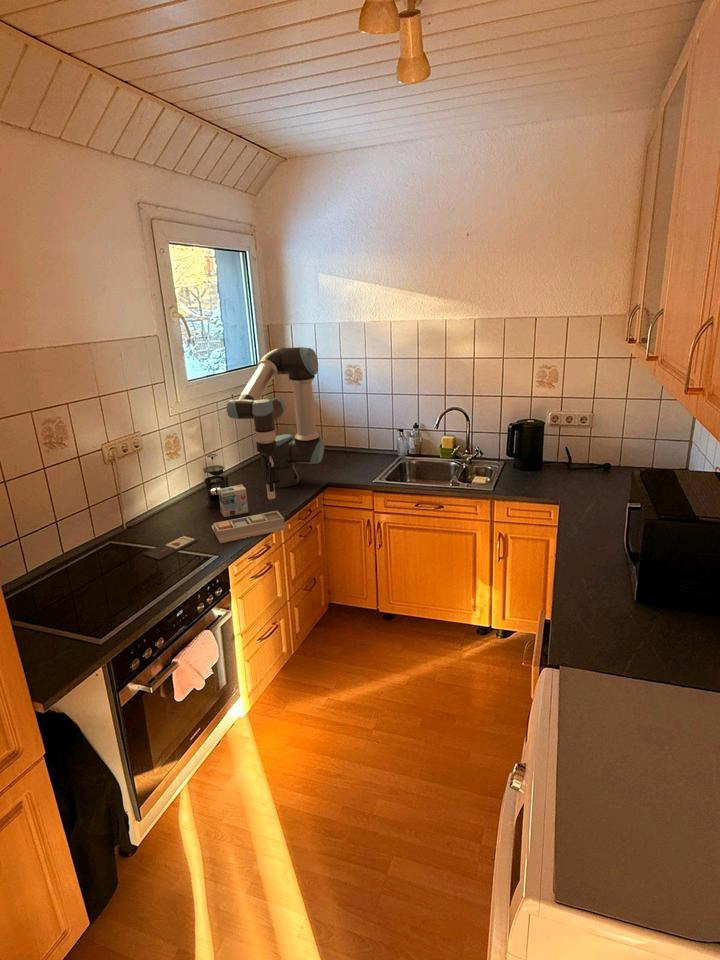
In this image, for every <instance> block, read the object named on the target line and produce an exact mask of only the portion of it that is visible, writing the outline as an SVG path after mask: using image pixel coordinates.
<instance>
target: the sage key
mask: <svg viewBox="0 0 720 960" xmlns="http://www.w3.org/2000/svg"><path fill="white" fill-rule="evenodd" d="M255 515H256V516H253V515H250V516H251V517H250V521H251V522H252V524H253V523H258V522H263V521H264V518H263V517H262V515H258V514H255Z"/></svg>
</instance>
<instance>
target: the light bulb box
mask: <svg viewBox="0 0 720 960" xmlns="http://www.w3.org/2000/svg"><path fill="white" fill-rule="evenodd" d="M220 488H221V487H220ZM218 491H219V500H220V508H219V509H220V513H221V514H222V516H223V517H224V518H225V517H226V518H227V517H230V516H231V517H232V516H236V515H237V516H238V515H243V514H247V513H249V508H248V496H247V488H246V487H245V486H244V485H243V484H237V485H233V486H232V485H231V486H229V487H226V486H225V488H221V489H218Z"/></svg>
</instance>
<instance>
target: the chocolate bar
mask: <svg viewBox="0 0 720 960" xmlns="http://www.w3.org/2000/svg"><path fill="white" fill-rule="evenodd" d="M198 542H199V539H195V538H192V537H188V536H185V535H182V534H181V535H179V536H177V537H175V538H173V539H171V540H168V541H166V542H164V543H162V544H160V545H158V546H156V547H154V548H152V549H150V550H148V551H146V552H143V553H142V556H144V557H147V558H150V559H153V560H156V561H162V560H164V559H165V558H168V557H170V556H172V555H173V554H176V553H177V552H179V551H181V550H183V549H185V548H187V547H190V546H191V545H193V544H196V543H198Z"/></svg>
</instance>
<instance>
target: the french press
mask: <svg viewBox="0 0 720 960" xmlns="http://www.w3.org/2000/svg"><path fill="white" fill-rule="evenodd" d="M217 456H218V454H216V453H210V454H208V455H206V457H208V458H210V459H211V462H212V465H207V466H206V467H204V468H202V471H203V473H204V474H206V473H209V474H210V475H211V476H208V477H206V478H204V484H205V487H206V495H207V498H206V501H207V502H206V503H207V504H206V506H207V508H209V509H220V500H219V491H218V489H221V488H226V487H230V486H229V477H228V475H226V474H225V475H223V474H224V473H225V472H224V469H225V466H224V465H220V464H216V465H215V464H214V458H216V457H217ZM216 479H219V480H218V481H216ZM211 480H214V481H213V482H212V481H211ZM218 485H219V486H220V487H217V486H218ZM212 486H215V487H213V488H212Z"/></svg>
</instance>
